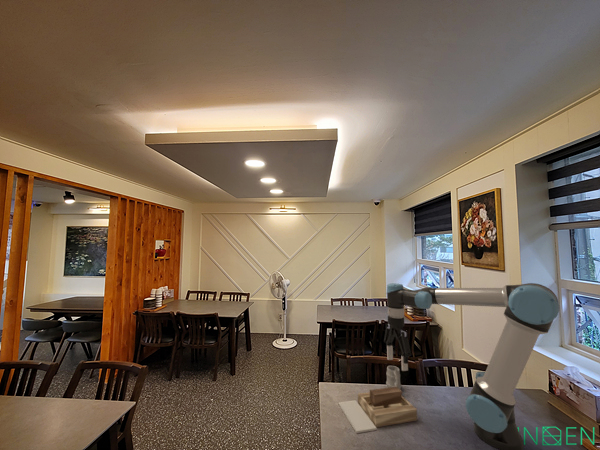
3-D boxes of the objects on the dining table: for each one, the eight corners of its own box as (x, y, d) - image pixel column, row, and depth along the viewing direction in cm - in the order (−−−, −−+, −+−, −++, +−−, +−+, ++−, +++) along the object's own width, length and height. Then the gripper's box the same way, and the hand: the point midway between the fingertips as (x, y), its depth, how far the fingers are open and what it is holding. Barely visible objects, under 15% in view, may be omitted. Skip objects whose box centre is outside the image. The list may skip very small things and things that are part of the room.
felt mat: (376, 430, 98) (376, 427, 98) (356, 433, 96) (356, 431, 96) (355, 401, 116) (355, 400, 117) (338, 404, 114) (338, 402, 114)
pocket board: (417, 420, 104) (416, 409, 105) (375, 427, 100) (375, 415, 100) (394, 398, 120) (394, 388, 120) (357, 403, 115) (357, 393, 116)
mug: (398, 384, 133) (397, 361, 134) (406, 396, 121) (405, 371, 123) (384, 383, 134) (384, 360, 135) (390, 395, 122) (390, 370, 123)
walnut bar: (401, 402, 110) (401, 391, 110) (374, 406, 107) (374, 394, 107) (396, 397, 114) (396, 386, 114) (369, 401, 110) (369, 389, 111)
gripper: (376, 310, 126) (376, 355, 124) (404, 323, 104) (406, 377, 101) (388, 310, 128) (389, 354, 125) (419, 322, 106) (421, 376, 103)
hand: (397, 364), depth 113 cm, fingers open, 10 cm apart
